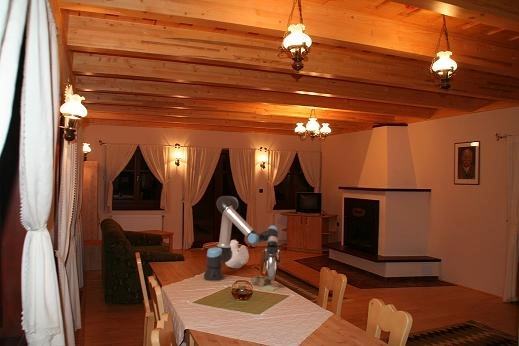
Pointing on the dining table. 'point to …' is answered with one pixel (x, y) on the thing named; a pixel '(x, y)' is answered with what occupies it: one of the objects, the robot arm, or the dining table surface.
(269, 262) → the silver metallic cylinder
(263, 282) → the collar
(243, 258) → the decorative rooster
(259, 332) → the dining table surface
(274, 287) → the mat
